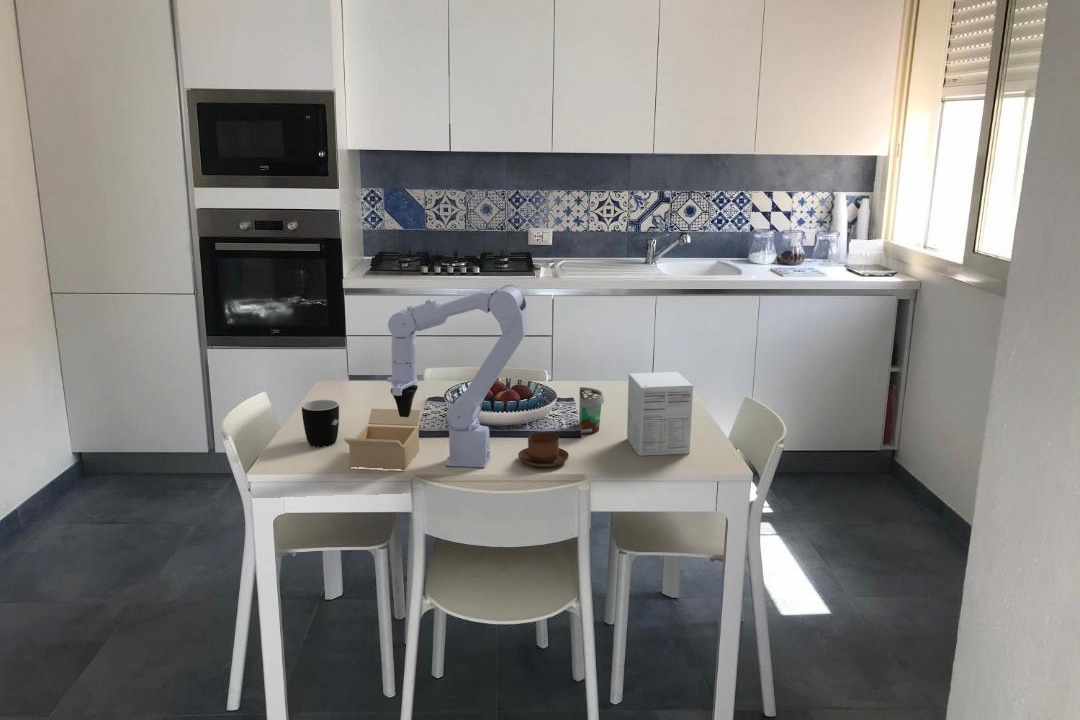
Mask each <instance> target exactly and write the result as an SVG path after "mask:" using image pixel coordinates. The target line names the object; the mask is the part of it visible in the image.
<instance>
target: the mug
mask: <svg viewBox="0 0 1080 720" xmlns="http://www.w3.org/2000/svg"><path fill="white" fill-rule="evenodd" d="M301 415H302V416H301V417H302V421H303V428H304V434H305V437H306V440H307V443H308V444H309V446H310V447H313V446H315V447H314V448H324V447H323V446H328V447H330V446H329V445H331V446H333V445H335V444H336V442H337V440H338V436H339V435H338V434H339V426H340V424H339V423H340V405H339V402H337V401H335V400H332V399H315V400H310V401H307V402H305V403H303V404H302V405H301ZM332 444H333V445H332Z"/></svg>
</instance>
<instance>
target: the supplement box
mask: <svg viewBox="0 0 1080 720" xmlns="http://www.w3.org/2000/svg"><path fill="white" fill-rule="evenodd" d="M627 385H628V389H627V428H626V429H627V430H626V437H627V441H628V443H630V445H631V446H632V448H633V449H634V451H635V453H637V455H638V456H640V457H641V456H663V455H664V456H665V455H667V456H669V455H686V454H688V453H689V454H690V451H691V449H690V448H691V433H692V411H693V410H692V409H693V397H694V396H693V392H694V385H693V384H692V383H691V382H690V381H688V380H687V379H686V377H684V376H683V375H682V374H681V373H680V372H678V371H666V372H663V371H662V372H661V371H660V372H633V373H628V384H627ZM689 454H688V455H689Z"/></svg>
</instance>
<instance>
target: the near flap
mask: <svg viewBox="0 0 1080 720" xmlns="http://www.w3.org/2000/svg"><path fill="white" fill-rule="evenodd" d="M343 440H344V441H345V442H346V443H347V444H348V446H349V445H354V446H379V447H403V445H402V444H401V443H400V441H399V440H383V439H358V438H356V437H354V438H353V437H351V438H350V437H344V438H343Z"/></svg>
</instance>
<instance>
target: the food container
mask: <svg viewBox="0 0 1080 720" xmlns="http://www.w3.org/2000/svg"><path fill="white" fill-rule="evenodd" d="M604 403H605V398H604V395H603V392H602V391H600V390H598V389H597V388H596V389H595V388H592V387H586V386H585V387H584V386H583V387H582V386H581V387H580V386H579V405H578V406H579V410H578V411H579V413H578V414H579V417H578V423H579V424H578V425H579V430H580V429H581V432H580V436H589V435H590V436H591V435H594V434H597V433H598V432H599V430H600V425H601V424H600V423H601V413H602V405H603V404H604Z"/></svg>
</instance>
